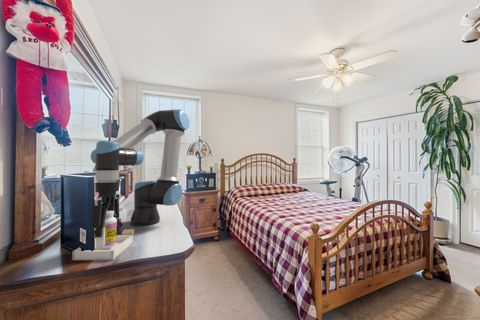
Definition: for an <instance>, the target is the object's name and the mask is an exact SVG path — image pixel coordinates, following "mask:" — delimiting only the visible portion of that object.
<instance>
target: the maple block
mask: <svg viewBox="0 0 480 320" xmlns="http://www.w3.org/2000/svg"><path fill="white" fill-rule="evenodd" d="M134 234H135V229H134V228H131V229H123V230H122V232H121V235H134ZM134 236H135V235H134Z"/></svg>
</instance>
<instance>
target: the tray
mask: <svg viewBox="0 0 480 320" xmlns="http://www.w3.org/2000/svg"><path fill="white" fill-rule="evenodd" d="M134 237H135V235H122V234H120V235H119V234H118V235H117V234H116V244H115V245H114V246H111V247H108V248H97V247H96V237H95V238H94V239H95V250H93V251H91V250H84V251H81V248H80V247H81V246H79V247H78V248H76V249H74V250H73V251H72V255H71V261H114V260H115V259H116V258H117V257H118V256H120V255H121V254H122V253H123V252H124V251H126V249H128V248H129V247H130V246H131V245H133V244H134V242H135V241H134Z"/></svg>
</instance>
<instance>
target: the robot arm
mask: <svg viewBox="0 0 480 320" xmlns="http://www.w3.org/2000/svg"><path fill="white" fill-rule="evenodd" d="M189 128H190V119H189V116H188V113H187V112H186V111H184V110H183V109H181V108H179V109H177V108H174V109H167V110H164V109H163V110H157V111H155V112H153V113H151V114H149V115H147V116H146V117H144V118H143V119H141V120H140V123H139V124H137V125H136V126H134V127H133V128H131V129H130V130H129V131H126V132H125V133H124V134H122V135H121V136H119V137H118V138H117V139H115V140H99V141H97V142H96V145H95V149H93V150H92V151H91V153H90V160H91V162H92V163H93V164H95V173H94V174H95V181H96V182H95V185H94V186H95V187H94V191H95V193H97V194H98V195H97V196H98V197H97V199H93V200H92V215H91V229H95V238H96V246H104V245H105V227H103V226H104V222H105V217H106V212H107V211H114V215H113V217H115V218H116V219H117V221H120V194H116V192H118V191H119V183H120V182H119V181H118V180H119V179H120V172H119V171H120V167H121V166H123V167H124V166H125V167H126V166H127V167H128V166H134V167H135V166H139V165H141V164H142V163H143V161H144V153H143V151H142V150H140V149H139V148H135V146H137V145H138V144H139V143H140V142H142V141H143V140H145V138H147V137H148V136H150V135H154V134H155V133H158V132H161V131H162V132H163V134H164V135H165V137H164V143H163V154H162V159H161V168H160V176H159V177H158V178H157V179H156V180H146V181H138V182H135V184H134V189H133V190H134V191H133V193H134V194H133V195H134V196H133V198H134V199H133V205H134V207H133V208H134V209H133V212H132V215H131V217H130V225H132V226H135V227H136V226H137V227H139V226H141V227H142V226H143V227H144V226H150V225H155V224H157V223H160V220H161V219H160V218H161V216H160V214H159V213H160V212H159V210H158V205H159V206H165V207H166V206H175V205H177V204H178V203H179V202H180V201H181V199H182V196H183V192H184V191H183V187H182V185H181V184H180V181H179V179H178V169H179V168H178V167H179V159H180V149H181V141H182V137H183V136H184V135H185V131H186V130H188V129H189Z"/></svg>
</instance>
